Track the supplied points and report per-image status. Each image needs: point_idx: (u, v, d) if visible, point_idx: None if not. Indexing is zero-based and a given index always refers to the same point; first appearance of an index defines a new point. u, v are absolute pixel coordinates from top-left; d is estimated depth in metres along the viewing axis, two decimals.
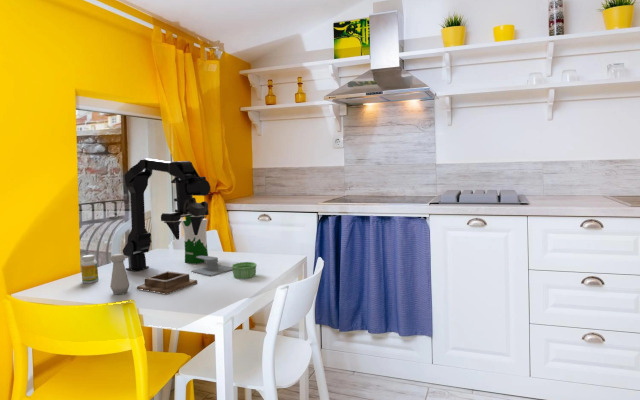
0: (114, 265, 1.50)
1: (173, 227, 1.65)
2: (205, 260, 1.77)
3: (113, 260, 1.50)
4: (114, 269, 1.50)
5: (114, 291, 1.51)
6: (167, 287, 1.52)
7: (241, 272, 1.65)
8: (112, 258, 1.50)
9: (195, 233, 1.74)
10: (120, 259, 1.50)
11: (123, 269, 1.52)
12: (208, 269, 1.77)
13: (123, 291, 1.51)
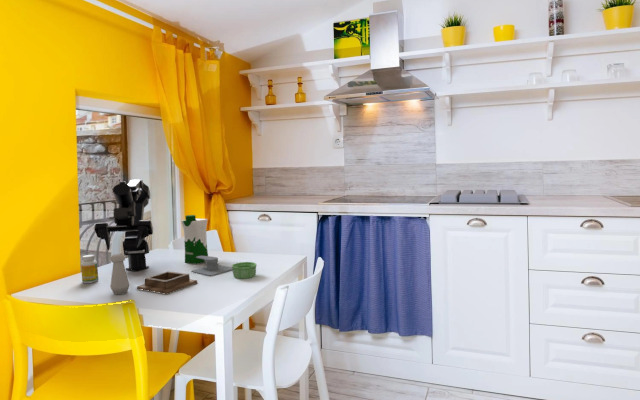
0: (114, 265, 1.50)
1: None
2: (205, 260, 1.77)
3: (113, 260, 1.50)
4: (114, 269, 1.50)
5: (114, 291, 1.51)
6: (167, 287, 1.52)
7: (241, 272, 1.65)
8: (112, 258, 1.50)
9: (135, 245, 1.60)
10: (120, 259, 1.50)
11: (123, 269, 1.51)
12: (208, 269, 1.77)
13: (123, 291, 1.51)
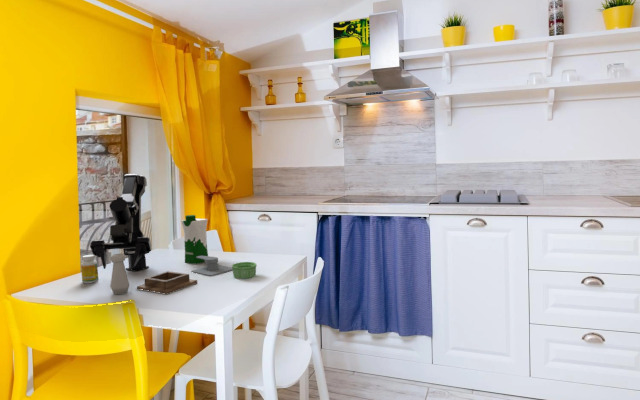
0: (114, 265, 1.50)
1: None
2: (205, 260, 1.77)
3: (113, 260, 1.50)
4: (114, 269, 1.50)
5: (114, 291, 1.51)
6: (167, 287, 1.52)
7: (241, 272, 1.65)
8: (112, 258, 1.50)
9: None
10: (120, 259, 1.50)
11: (123, 269, 1.52)
12: (208, 269, 1.77)
13: (123, 291, 1.51)
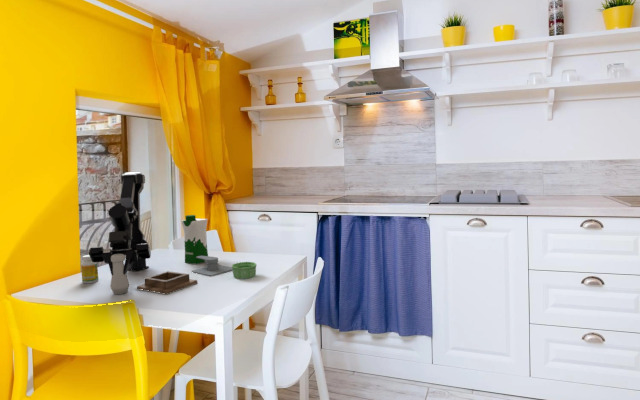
0: (114, 265, 1.50)
1: None
2: (205, 260, 1.77)
3: (113, 260, 1.50)
4: (114, 269, 1.50)
5: (114, 291, 1.51)
6: (167, 287, 1.52)
7: (241, 272, 1.65)
8: (112, 258, 1.50)
9: None
10: (120, 259, 1.50)
11: (123, 269, 1.51)
12: (208, 269, 1.77)
13: (123, 291, 1.51)
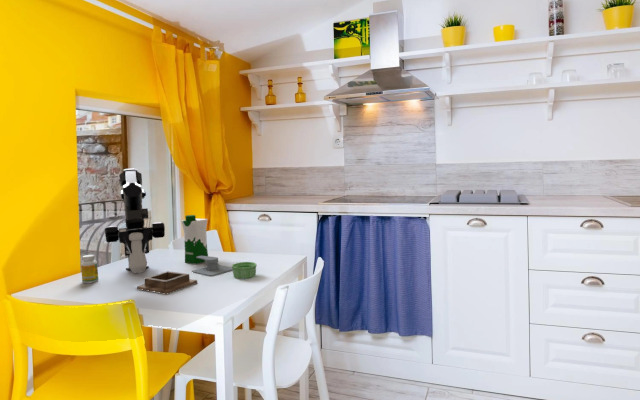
0: (133, 243, 1.51)
1: (126, 243, 1.54)
2: (205, 260, 1.77)
3: (132, 238, 1.51)
4: (133, 247, 1.51)
5: (133, 269, 1.52)
6: (167, 287, 1.52)
7: (241, 272, 1.65)
8: (131, 236, 1.51)
9: None
10: (139, 237, 1.51)
11: None
12: (208, 269, 1.77)
13: (142, 269, 1.53)
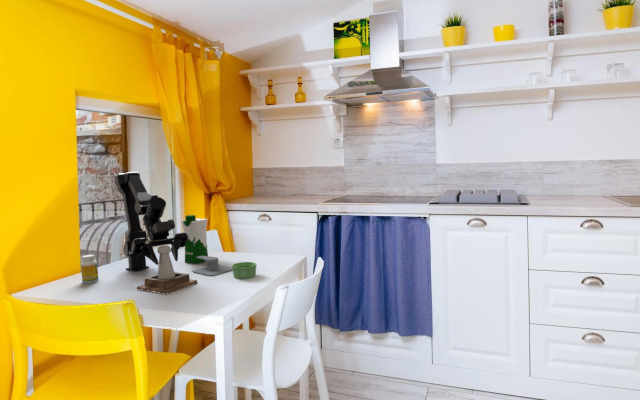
0: (162, 256, 1.56)
1: (150, 254, 1.57)
2: (206, 260, 1.77)
3: (162, 251, 1.56)
4: (163, 260, 1.56)
5: None
6: (167, 287, 1.52)
7: (241, 272, 1.65)
8: (161, 250, 1.56)
9: (175, 259, 1.59)
10: (169, 250, 1.57)
11: (170, 260, 1.58)
12: (209, 269, 1.77)
13: None
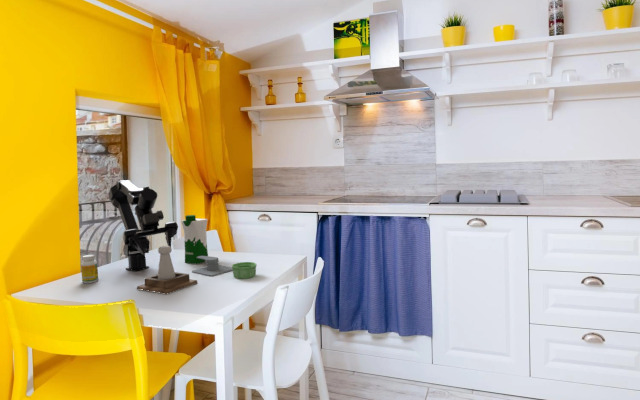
0: (163, 256, 1.56)
1: (137, 245, 1.64)
2: (206, 260, 1.77)
3: (163, 252, 1.56)
4: (163, 260, 1.56)
5: None
6: (167, 287, 1.52)
7: (241, 272, 1.65)
8: (162, 250, 1.56)
9: None
10: (169, 250, 1.57)
11: None
12: (209, 269, 1.77)
13: None
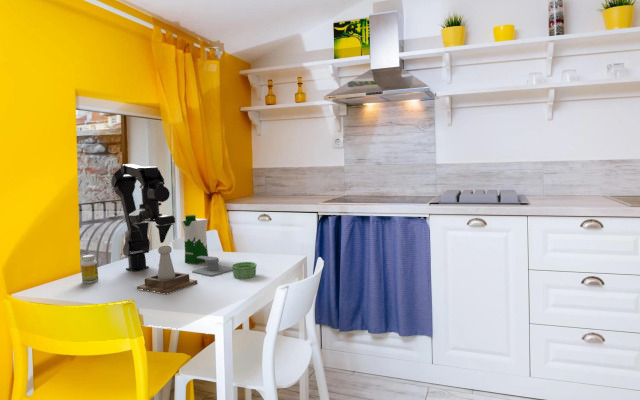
0: (163, 256, 1.56)
1: None
2: (206, 260, 1.77)
3: (163, 252, 1.56)
4: (163, 260, 1.56)
5: None
6: (167, 287, 1.52)
7: (241, 272, 1.65)
8: (162, 250, 1.56)
9: None
10: (169, 250, 1.57)
11: None
12: (209, 269, 1.76)
13: None
